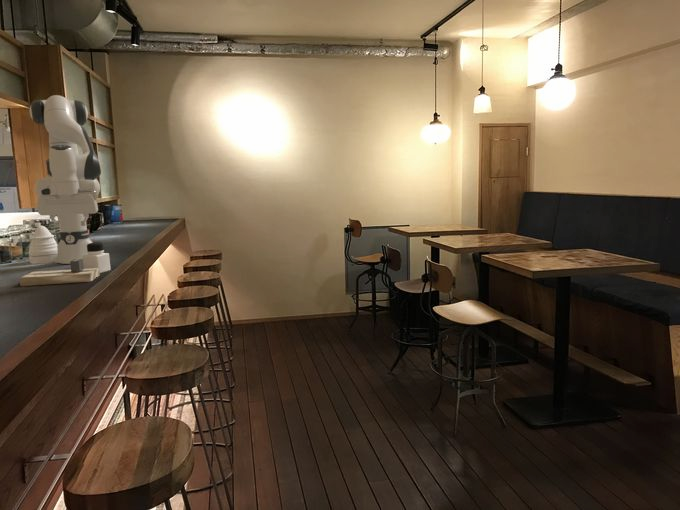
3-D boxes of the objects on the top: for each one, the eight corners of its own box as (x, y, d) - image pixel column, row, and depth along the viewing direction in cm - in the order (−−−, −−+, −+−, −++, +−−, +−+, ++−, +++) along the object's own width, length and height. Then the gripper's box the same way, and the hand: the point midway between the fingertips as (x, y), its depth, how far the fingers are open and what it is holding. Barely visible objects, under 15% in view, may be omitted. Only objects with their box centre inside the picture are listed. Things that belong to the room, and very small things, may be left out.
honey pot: (23, 263, 234) (17, 224, 231) (46, 258, 246) (41, 221, 243) (45, 264, 230) (39, 224, 227) (67, 259, 242) (62, 221, 239)
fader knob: (75, 269, 195) (74, 259, 195) (84, 268, 196) (82, 258, 195) (71, 272, 190) (69, 261, 190) (79, 271, 191) (78, 260, 190)
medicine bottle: (111, 270, 210) (108, 241, 208) (98, 273, 204) (95, 244, 201) (96, 269, 212) (93, 241, 210) (84, 273, 205) (80, 243, 203)
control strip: (34, 279, 197) (33, 271, 196) (100, 275, 201) (99, 267, 200) (20, 286, 185) (19, 277, 184) (90, 281, 189) (89, 273, 188)
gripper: (98, 188, 194) (102, 224, 197) (40, 189, 191) (45, 226, 193) (93, 189, 188) (97, 226, 191) (33, 190, 185) (38, 228, 187)
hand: (70, 226), depth 192 cm, fingers open, 8 cm apart
